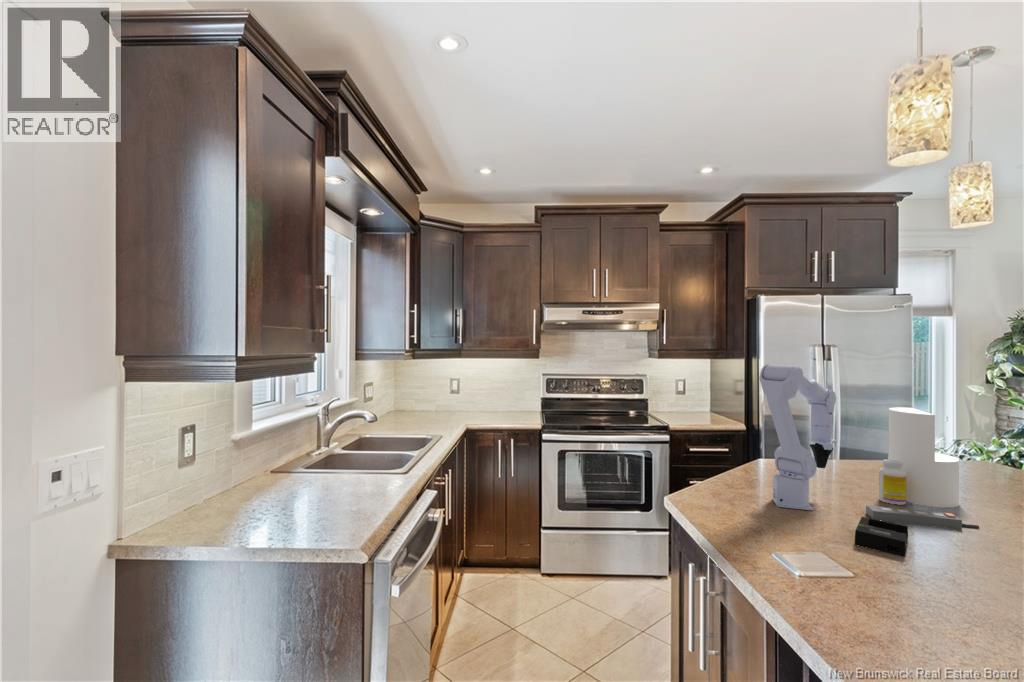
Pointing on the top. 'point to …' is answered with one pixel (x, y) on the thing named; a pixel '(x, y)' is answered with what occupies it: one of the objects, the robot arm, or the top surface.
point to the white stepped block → (922, 459)
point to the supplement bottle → (892, 483)
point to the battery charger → (882, 536)
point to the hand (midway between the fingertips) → (820, 467)
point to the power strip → (916, 517)
